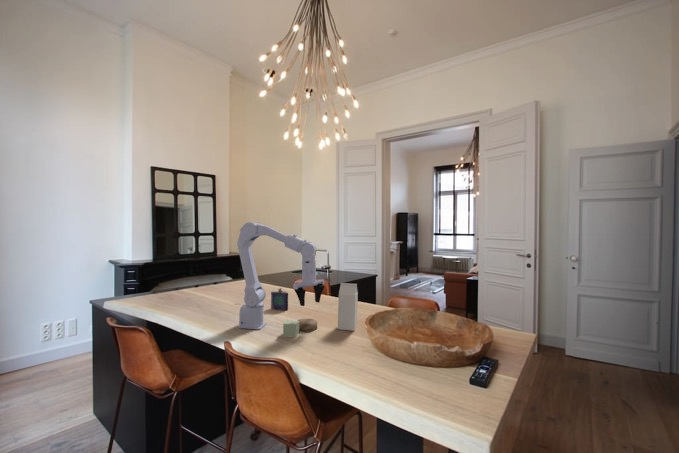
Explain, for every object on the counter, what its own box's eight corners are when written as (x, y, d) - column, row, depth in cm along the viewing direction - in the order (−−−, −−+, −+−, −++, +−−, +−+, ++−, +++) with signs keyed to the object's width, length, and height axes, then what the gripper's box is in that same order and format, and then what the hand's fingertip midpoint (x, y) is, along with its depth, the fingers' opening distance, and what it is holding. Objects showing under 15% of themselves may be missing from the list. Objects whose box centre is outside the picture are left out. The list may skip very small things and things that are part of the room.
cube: (283, 336, 121) (283, 323, 121) (287, 332, 126) (287, 319, 125) (295, 337, 120) (295, 324, 120) (298, 333, 125) (299, 320, 125)
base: (293, 330, 127) (293, 324, 127) (299, 323, 136) (299, 317, 136) (314, 332, 126) (314, 326, 126) (319, 325, 135) (319, 319, 135)
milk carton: (354, 331, 128) (355, 285, 128) (337, 329, 130) (338, 284, 130) (356, 325, 135) (358, 282, 135) (341, 324, 137) (342, 281, 136)
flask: (269, 309, 157) (270, 288, 157) (272, 307, 160) (273, 287, 160) (286, 311, 155) (287, 289, 155) (289, 309, 158) (289, 288, 158)
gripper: (299, 274, 121) (300, 309, 121) (328, 270, 131) (329, 302, 131) (290, 272, 127) (291, 305, 127) (318, 268, 136) (319, 299, 136)
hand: (310, 303), depth 129 cm, fingers open, 7 cm apart
